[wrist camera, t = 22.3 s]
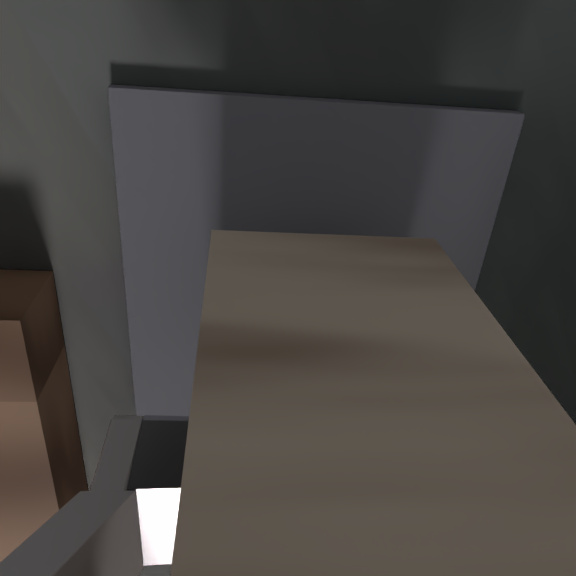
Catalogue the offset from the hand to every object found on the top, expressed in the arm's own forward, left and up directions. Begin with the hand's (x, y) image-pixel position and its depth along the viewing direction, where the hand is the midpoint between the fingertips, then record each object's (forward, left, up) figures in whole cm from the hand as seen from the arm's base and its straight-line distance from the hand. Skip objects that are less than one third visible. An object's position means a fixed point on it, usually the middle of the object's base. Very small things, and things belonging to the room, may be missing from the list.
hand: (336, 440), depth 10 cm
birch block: (0, 0, -4) cm, 4 cm away
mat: (0, 0, -6) cm, 6 cm away
